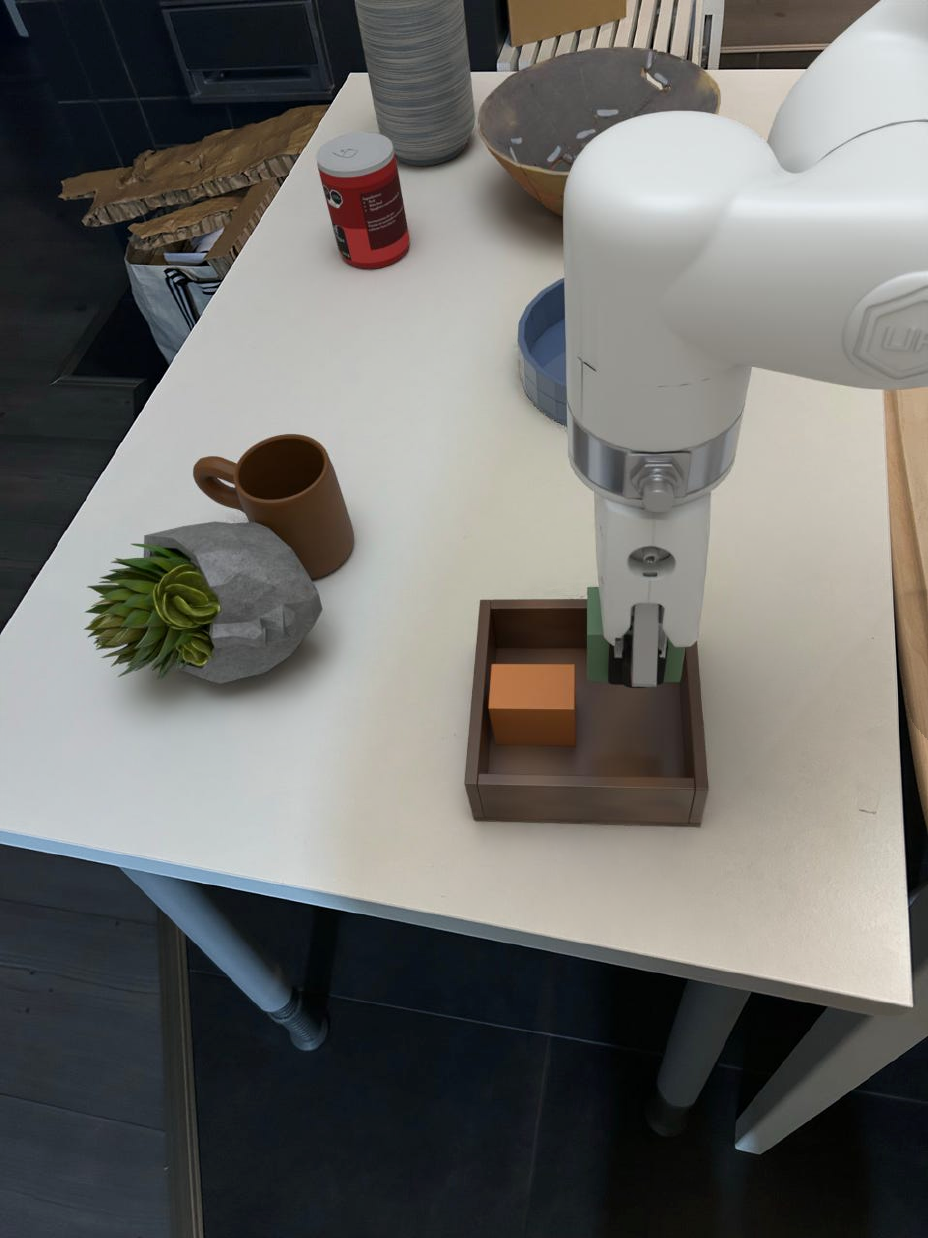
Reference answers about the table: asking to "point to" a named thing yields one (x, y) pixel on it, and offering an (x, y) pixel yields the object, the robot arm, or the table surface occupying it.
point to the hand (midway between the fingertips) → (634, 650)
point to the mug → (286, 497)
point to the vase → (419, 76)
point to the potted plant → (207, 602)
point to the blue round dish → (545, 351)
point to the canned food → (364, 199)
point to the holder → (585, 733)
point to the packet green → (600, 645)
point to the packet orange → (533, 704)
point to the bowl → (582, 109)
